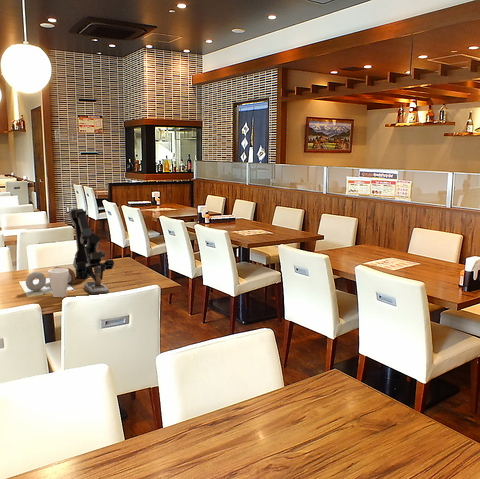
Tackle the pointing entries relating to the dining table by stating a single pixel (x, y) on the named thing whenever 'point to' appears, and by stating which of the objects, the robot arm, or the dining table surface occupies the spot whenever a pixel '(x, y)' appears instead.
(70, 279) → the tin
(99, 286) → the slide handle
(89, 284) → the rail base
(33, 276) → the donut
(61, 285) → the foam cup
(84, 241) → the robot arm
